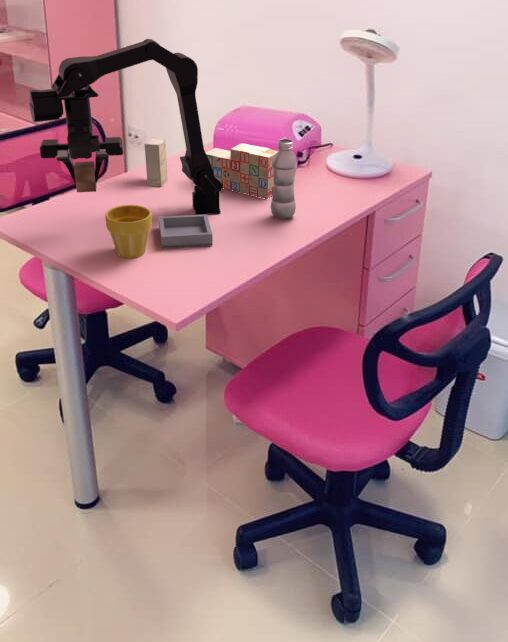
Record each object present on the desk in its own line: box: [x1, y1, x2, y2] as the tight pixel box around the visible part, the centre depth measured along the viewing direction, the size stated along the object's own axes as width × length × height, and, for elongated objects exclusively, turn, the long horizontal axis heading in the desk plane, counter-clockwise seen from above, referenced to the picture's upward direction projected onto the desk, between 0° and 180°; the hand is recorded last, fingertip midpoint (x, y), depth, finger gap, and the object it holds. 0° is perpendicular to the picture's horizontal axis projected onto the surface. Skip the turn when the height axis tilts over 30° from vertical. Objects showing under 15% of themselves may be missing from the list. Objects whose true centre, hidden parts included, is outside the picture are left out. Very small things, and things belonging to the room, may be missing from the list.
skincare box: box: [144, 137, 169, 187], centre depth 205 cm, size 6×4×12 cm
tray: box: [158, 214, 214, 249], centre depth 176 cm, size 12×12×3 cm
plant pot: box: [104, 204, 153, 259], centre depth 166 cm, size 10×10×10 cm
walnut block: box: [73, 160, 97, 193], centre depth 173 cm, size 4×4×6 cm
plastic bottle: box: [270, 138, 298, 220], centre depth 183 cm, size 6×7×20 cm
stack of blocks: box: [205, 142, 278, 200], centre depth 202 cm, size 21×6×12 cm, turn 58°
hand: (86, 182), depth 174 cm, fingers closed on walnut block, 4 cm apart
